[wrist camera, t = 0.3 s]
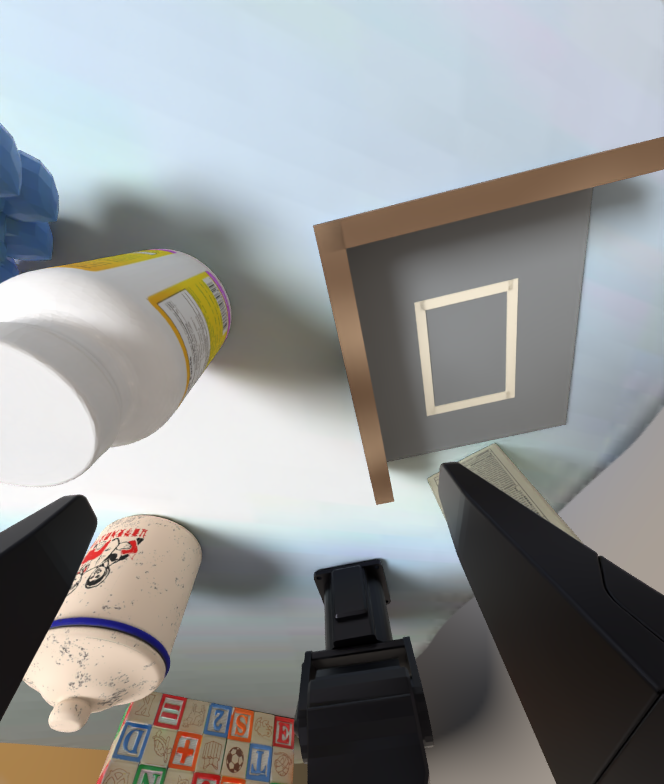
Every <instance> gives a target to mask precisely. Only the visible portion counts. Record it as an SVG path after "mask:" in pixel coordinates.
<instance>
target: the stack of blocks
mask: <svg viewBox="0 0 664 784" xmlns="http://www.w3.org/2000/svg"><path fill="white" fill-rule="evenodd" d="M294 734H295V733H294V719H290V718H285V717H279V716H274V715H272V714H266V713H262V712H254V711H251V710H247V709H242V708H237V707H230V706H225V705H219V704H214V703H208V702H203V701H198V700H192V699H187V698H183V697H178V696H173V695H168V694H162V693H157V692H152V693H151V694H149V695H148V696H146V697H144V698H142V699H140V700H137V701H134V702H131V703H130V704H129V706H128V707H127V709H126V711H125V713H124V716H123V718H122V721H121V723H120V726H119V728H118V731H117V734H116V736H115V739H114V742H113V744H112V746H111V749H110V751H109V754H108V756H107V759H106V761H105V764H104V767H103V769H102V771H101V774H100V776H99V779H98V781H97V784H292V779H293V762H294V750H293V749H294Z"/></svg>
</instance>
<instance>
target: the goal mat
mask: <svg viewBox="0 0 664 784" xmlns="http://www.w3.org/2000/svg"><path fill="white" fill-rule="evenodd" d="M579 158H580V157H579ZM575 159H576V158H575ZM571 160H572V159H571ZM532 170H533V169H532ZM528 171H529V170H528ZM489 181H490V180H489ZM485 182H486V181H485ZM481 183H482V182H481ZM592 192H593V187H591V188H587V189H583V190H579V191H575V192H571V193H567V194H563V195H559V196H555V197H551V198H547V199H543V200H539V201H535V202H531V203H527V204H523V205H519V206H515V207H511V208H507V209H503V210H499V211H495V212H491V213H487V214H483V215H479V216H475V217H471V218H467V219H463V220H459V221H455V222H451V223H447V224H443V225H439V226H435V227H431V228H427V229H423V230H419V231H415V232H411V233H407V234H403V235H399V236H395V237H391V238H387V239H383V240H379V241H375V242H371V243H367V244H363V245H359V246H355V247H351V248H347V249H346V252H347V257H348V263H349V268H350V273H351V278H352V283H353V289H354V294H355V299H356V304H357V310H358V315H359V320H360V325H361V330H362V336H363V341H364V346H365V351H366V357H367V362H368V367H369V372H370V378H371V383H372V388H373V393H374V398H375V404H376V409H377V414H378V419H379V425H380V430H381V435H382V440H383V445H384V451H385V456H386V461H387V462H388V461H393V460H398V459H403V458H407V457H412V456H417V455H422V454H427V453H431V452H436V451H441V450H446V449H451V448H455V447H460V446H465V445H470V444H475V443H479V442H484V441H489V440H494V439H499V438H503V437H508V436H513V435H518V434H523V433H527V432H532V431H537V430H542V429H546V428H551V427H556V426H561V425H566V417H567V408H568V399H569V391H570V382H571V373H572V365H573V356H574V347H575V339H576V330H577V321H578V313H579V304H580V295H581V287H582V278H583V269H584V261H585V252H586V243H587V235H588V226H589V217H590V209H591V200H592ZM442 193H443V192H442ZM438 194H439V193H438ZM434 195H435V194H434ZM395 205H396V204H395ZM391 206H392V205H391ZM387 207H388V206H387ZM348 217H349V216H348ZM344 218H345V217H344ZM340 219H341V218H340Z"/></svg>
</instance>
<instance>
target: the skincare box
mask: <svg viewBox="0 0 664 784" xmlns="http://www.w3.org/2000/svg"><path fill="white" fill-rule="evenodd" d="M458 463H460V464H462V465H463V466H465V467H466V468H468V469H469V470H471V471H472V472H474V473H475V474H477V475H479V476H480V477H482V478H483V479H485V480H486V481H488V482H489V483H491V484H492V485H494V486H495V487H497V488H498V489H500V490H502V491H503V492H505V493H506V494H508V495H509V496H511V497H512V498H514V499H515V500H517V501H518V502H520V503H521V504H523V505H524V506H526V507H528V508H529V509H531V510H532V511H534V512H535V513H537V514H538V515H540V516H541V517H543V518H544V519H546V520H547V521H549V522H550V523H552V524H554V525H555V526H557V527H558V528H560V529H561V530H563V531H564V532H566V533H567V534H569V535H570V536H572V537H573V538H575V539H576V540H578V541H580V542H581V540H580V539H579V538H578V537H577V536H576V535H575V534H574V533H573V531H572V530H571V529H570V528H569V527H568V525H567V524H566V523H565V522H564V521H563V520H562V519H561V517H560V516H559V515H558V514H557V513H556V512H555V511H554V509H553V508H552V507H551V506H550V505H549V504H548V502H547V501H546V500H545V499H544V498H543V497H542V495H541V494H540V493H539V492H538V491H537V490H536V489H535V487H534V486H533V485H532V484H531V483H530V482H529V481H528V479H527V478H526V477H525V476H524V475H523V474H522V473H521V471H520V470H519V469H518V468H517V467H516V466H515V464H514V463H513V462H512V461H511V460H510V459H509V457H508V456H507V455H506V454H505V453H504V452H503V451H502V450H501V448H500V447H499V446H498V445H497V444H495V443H494V444H491V445H489V446H487V447H485V448H484V449H481V450H480V451H478V452H476V453H474V454H472V455H470V456H468V457H466V458H464V459H462V460H461V461H459V462H458ZM428 482H429V485H430V487H431V489H432V491H433V493H434V496H435V498H436V500H437V502H438V504H439V506H440V509H441V511H442V513H443V515H444V517H445V514H444V511H443V508H442V505H441V501H440V498H439V493H438V483H439V472H438V473H436V474H435V475H433V476H431V477H429V478H428ZM445 519H446V517H445ZM446 522H447V521H446ZM581 543H582V542H581Z"/></svg>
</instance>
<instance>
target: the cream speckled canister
mask: <svg viewBox="0 0 664 784" xmlns="http://www.w3.org/2000/svg"><path fill="white" fill-rule="evenodd" d="M201 560H202V551H201V547H200V545H199V543H198V541H197V539H196V538H195V537H194V536H193V534H192V533H191V532H189V531H188V530H187V529H186V528H184V527H183V526H181V525H179V524H177V523H175V522H173V521H170V520H168V519H164V518H161V517H156V516H148V515H137V516H130V517H125V518H122V519H119V520H117V521H115V522H113V523H111V524H110V525H108V526H107V527H106V528H105V529H104V530H103V531H102V532H101V534H100V535H99V536H98V538H97V539H96V541H95V542H94V544H93V545H92V547H91V548H90V550H89V551H88V552H87V554H86V555H85V557H84V558H83V561H82V563H81V566H80V568H79V570H78V573H77V575H76V577H75V580H74V582H73V584H72V586H71V589H70V591H69V593H68V595H67V597H66V598H65V600H64V602H63V604H62V606H61V608H60V610H59V612H58V614H57V615H56V617H55V619H54V621H53V623H52V625H51V627H50V629H49V631H48V632H47V634H46V636H45V638H44V640H43V642H42V644H41V646H40V647H39V649H38V651H37V653H36V655H35V657H34V659H33V661H32V663H31V664H30V666H29V668H28V670H27V672H26V674H25V676H24V678H23V680H24V681H25V682H26V683H27V684H28V685H29V686H30V687H32V688H33V689H35V690H37V691H38V692H40V693H41V695H42V697H43V698H44V699H45V700H46V701H47V702H48V703H49V704H50V705H52V706H53V707H54V709H53V711H52V712H51V714H50V716H49V726H50V727H51V728H52V729H54V730H57V731H60V732H74V731H77V730H79V729H81V728H82V727H83V726H84V725H85V724H86V722H87V720H88V718H89V716H90V713H95V712H100V711H103V710H105V709H108V708H110V707H112V706H114V705H121V704H127V703H131V702H134V701H137V700H140V699H142V698H144V697H146V696H148V695H149V694H151V693H152V692H153V691H154V690H156V689H157V687H158V686H159V685H160V684H161V683H162V681H163V679H164V678H165V676H166V675H167V673H168V671H169V668H170V654H171V651H172V648H173V645H174V642H175V639H176V636H177V633H178V630H179V627H180V624H181V621H182V618H183V615H184V612H185V609H186V606H187V603H188V600H189V597H190V594H191V591H192V588H193V585H194V582H195V579H196V576H197V573H198V570H199V567H200V564H201Z"/></svg>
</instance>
